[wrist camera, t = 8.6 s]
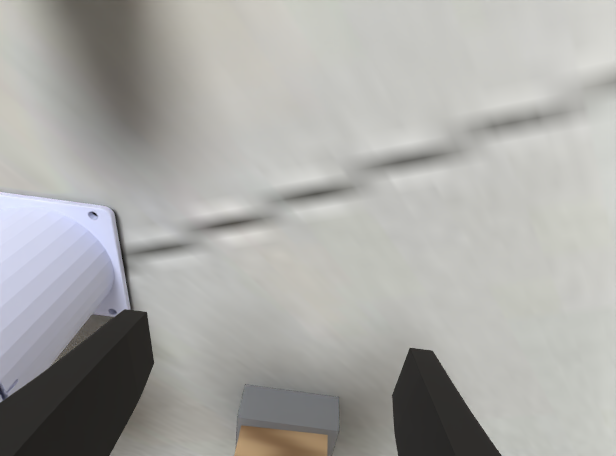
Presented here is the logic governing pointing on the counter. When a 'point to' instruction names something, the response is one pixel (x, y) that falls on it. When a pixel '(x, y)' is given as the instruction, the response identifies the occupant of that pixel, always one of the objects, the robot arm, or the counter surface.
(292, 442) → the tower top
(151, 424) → the counter surface
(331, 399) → the tower base
